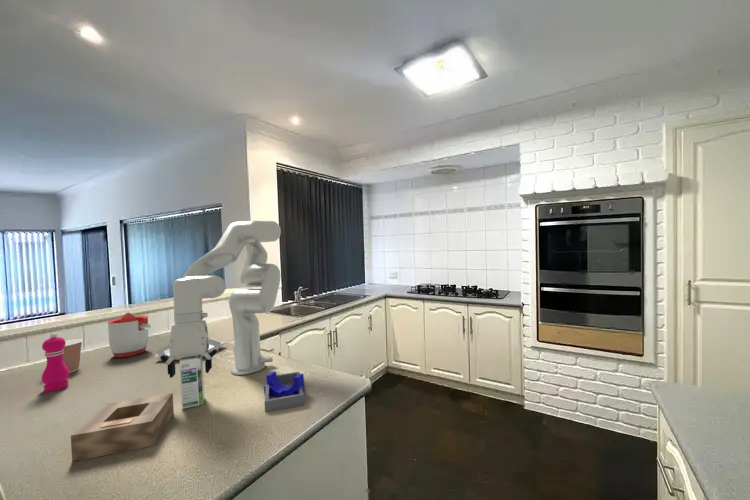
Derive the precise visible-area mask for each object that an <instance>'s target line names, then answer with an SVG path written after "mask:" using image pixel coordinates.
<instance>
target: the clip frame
mask: <svg viewBox="0 0 750 500" xmlns="http://www.w3.org/2000/svg"><path fill="white" fill-rule="evenodd" d="M298 374H301V372H300V371H294V372H289V373H288V372H287V373H281V374H276V375H277V378H278V380H279V381H280V382H281V383H282V384H283V385H287V384H291V383H292V384H293V383H294V377H295V376H297V375H298ZM265 385H266V390H265V394H264V412H265V413H268V412H272V411H277V410H284V409H289V408H294V407H298V406H305V394H304V393H303V388H302V386H301V387H300V388H299V394H296V395H291V396H286V395H284V396H282V397H273V398H270V397H271V396H270V392H269V384H267V379H266V380H265Z"/></svg>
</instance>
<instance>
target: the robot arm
mask: <svg viewBox="0 0 750 500" xmlns="http://www.w3.org/2000/svg"><path fill="white" fill-rule="evenodd" d="M281 233H282V231H281V226H280V225H279V223H277V222H276V221H273V220H246V221H245V220H244V221H234V222H232V223H230V224H229V225H228V226H227V227H226V229H225V230H224V232H223V234H222V236H221V237H220V239H219V240H218V242H217V243H216V245H215V246H214V248H213V249H212V250H210V251H209V252H207V253H205V254H204V255H203V256H202V257H200V258H198V259H197V260H196V261H195V262H193V263H192V264H191V265H190V266H189V268H188V269H187V270H186V272H185V273H184V275H183V276H182V278H177V279H176V280H174V281H173V284H172V287H173V289H172V290H173V293H172V295H173V313H174V314H173V321H174V323H172V325H171V329H170V336H169V343H167V344H166V345H164V346H162V347H160V348H159V349H157V350H156V353H157V354H158V355H159V357H160V360H161V361H162V362H164V363H165V365H167V375H169V378H170V379H171V378H173V377H175V375H176V361H175V360H174V359H175V358H176V357H185V356H193V355H201V354H202V355H203V357H205V360H204V367H205V371H204V372H205V374H208V373H210V370H212V369H213V364H212V363H213V362H212V361H213V360H212V359H213V357H214V356H215V355H216V354H217V352H218V350H219V349H220V348H221V347H220V345H221V343H220V342H217V341H218V340H213V339H211V338H209V331H208V325H207V321H206V319H205V318H207V317H208V312H204V310H203V300H204V299H216V298H219V297H221V296H222V295H223V294H224V292H225V291H226V288H227V287H226V286H227V284H226V282H225V280H224V279H223V278H222V277H221V276H218V275H210V274H212V273H213V272H216V271H218V270H219V269H222V268H225V267H227V266H230V265H232V264H234V263H235V262H236V261H237V260H238V258H239V257H240V254H241V253H242V251H243V249H244V247H245V250H246V256H245V259H244V262H243V266H242V269H241V272H240V277H239V280H240V283H241V285H242V286H244V287H247V288H239V289H236V290H234V291H232V293H231V294H230V296H229V298H228V306H229V310H230V314H231V319H232V328H233V334H232V335H233V346H234V347H233V348H234V349H233V350H234V365H233V366H232V367H230V373H231V374H233V375H239V376H243V375H250V374H254V373H257V372H260V371H262V370H263V369H265V367H266V363H273V360H274V359H273V358H274V357H273V356H270V355H266V356H264V355H263V353H261V339H260V338H261V337H260V336H261V335H260V321H259V319H258V317H257V315H256V314H268V313H271V311H273V309H274V307H275V305H276V300H277V297H278V291H279V287H280V284H281V270H280V268H279V267H278V266H277V265H276V264H274V263H267V261H268V251H267V250H266V248H265V247H264V245H263V244H262V243H269V242H271V243H272V242H276V241H278V240H279V239H280V237H281V235H282V234H281ZM209 344H210V345H213V346H214V350H213V351H212V352H210V351H209V350H208V349H209ZM219 347H220V348H219ZM166 350H169V351H170V357H168V356H167V355H166V354H165V353H164V351H166ZM157 354H156V355H157Z"/></svg>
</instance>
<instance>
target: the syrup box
mask: <svg viewBox="0 0 750 500" xmlns="http://www.w3.org/2000/svg"><path fill="white" fill-rule="evenodd" d="M178 364H179V378H180V396H181V401H180V403H181V410H184V409H188V408H193V407H194V408H195V407H198V406H199V407H200V406H203V404H204V399H205V387H204V384H205V383H204V366H203V365H204V364H203V357H202V354H201V355H193V356H185V357H182V358H181V360H179V363H178Z"/></svg>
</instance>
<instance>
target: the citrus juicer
mask: <svg viewBox="0 0 750 500" xmlns="http://www.w3.org/2000/svg"><path fill="white" fill-rule="evenodd" d="M106 323H107V326H108V328H107V331H108V342H109V347H110V350H111V352H112V354H113V356H114V357H115V358H127V357H134V356H135V355H139V354H142V353H144V352H145V351H146V349H147V345H148V342H149V329H151V325H150V324H149V316H148V315H144V314H142V315H134V314H132V313H131V312H125V314H124V315H123V316H122V317H118V318H113V319H110V320H107V322H106Z"/></svg>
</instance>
